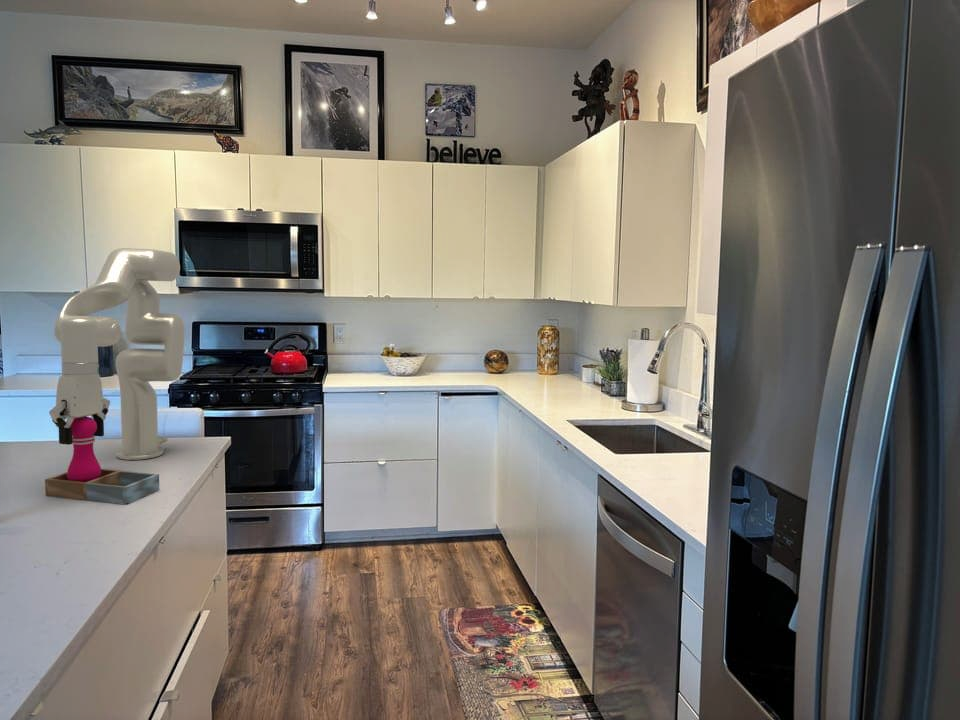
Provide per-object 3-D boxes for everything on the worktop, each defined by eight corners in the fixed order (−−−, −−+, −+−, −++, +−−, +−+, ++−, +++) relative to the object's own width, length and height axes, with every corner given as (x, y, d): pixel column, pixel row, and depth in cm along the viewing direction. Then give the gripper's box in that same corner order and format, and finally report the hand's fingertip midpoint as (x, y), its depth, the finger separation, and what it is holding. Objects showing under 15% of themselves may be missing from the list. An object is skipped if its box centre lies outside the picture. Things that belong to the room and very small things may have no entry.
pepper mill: (86, 496, 158) (83, 414, 156) (60, 494, 160) (56, 412, 157) (108, 488, 165) (106, 408, 163) (83, 485, 167) (80, 406, 164)
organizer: (83, 482, 169) (82, 467, 169) (159, 490, 165) (159, 474, 164) (45, 495, 158) (44, 479, 158) (126, 504, 154) (125, 487, 153)
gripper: (94, 365, 168) (96, 432, 170) (36, 372, 151) (38, 446, 153) (120, 366, 167) (121, 434, 168) (64, 374, 150) (66, 448, 151)
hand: (82, 439), depth 161 cm, fingers open, 9 cm apart
